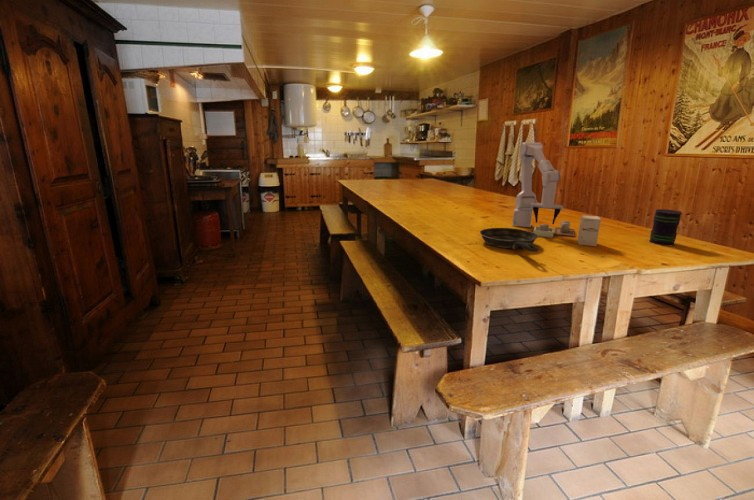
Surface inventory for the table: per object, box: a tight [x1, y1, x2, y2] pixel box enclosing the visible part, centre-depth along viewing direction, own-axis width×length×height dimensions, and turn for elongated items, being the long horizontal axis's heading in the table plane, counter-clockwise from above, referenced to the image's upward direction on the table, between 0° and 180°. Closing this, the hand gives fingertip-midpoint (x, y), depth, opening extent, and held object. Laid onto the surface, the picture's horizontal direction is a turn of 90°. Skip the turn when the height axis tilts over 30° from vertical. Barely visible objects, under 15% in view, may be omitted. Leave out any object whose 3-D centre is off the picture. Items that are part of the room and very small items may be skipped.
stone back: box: [560, 220, 571, 229], centre depth 207 cm, size 4×4×4 cm
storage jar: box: [649, 209, 682, 247], centre depth 184 cm, size 10×10×15 cm
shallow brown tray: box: [553, 226, 575, 238], centre depth 204 cm, size 9×16×1 cm, turn 155°
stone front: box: [539, 223, 550, 231], centre depth 198 cm, size 4×4×4 cm
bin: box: [533, 226, 555, 239], centre depth 199 cm, size 9×9×3 cm
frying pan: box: [479, 227, 539, 253], centre depth 172 cm, size 44×25×7 cm, turn 179°
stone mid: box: [560, 222, 571, 233], centre depth 203 cm, size 4×4×4 cm
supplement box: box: [576, 214, 602, 247], centre depth 181 cm, size 7×7×13 cm
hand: (544, 223), depth 198 cm, fingers open, 7 cm apart
